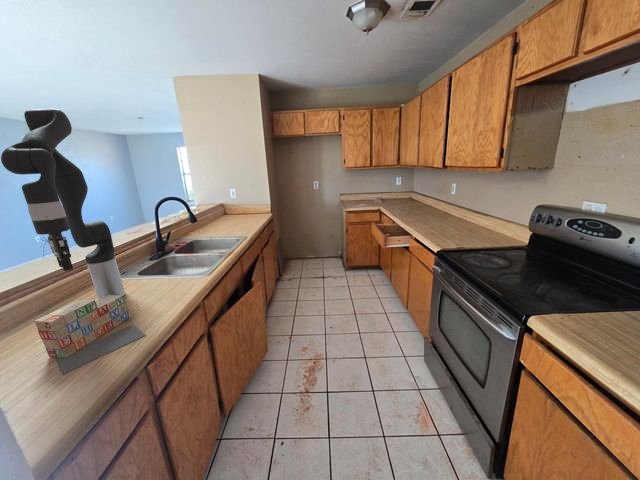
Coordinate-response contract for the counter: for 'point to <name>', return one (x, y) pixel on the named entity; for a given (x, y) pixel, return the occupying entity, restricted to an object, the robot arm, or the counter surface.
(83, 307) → the stack of blocks
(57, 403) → the counter surface
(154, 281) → the counter surface
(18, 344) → the counter surface
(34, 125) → the robot arm
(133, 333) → the mat
